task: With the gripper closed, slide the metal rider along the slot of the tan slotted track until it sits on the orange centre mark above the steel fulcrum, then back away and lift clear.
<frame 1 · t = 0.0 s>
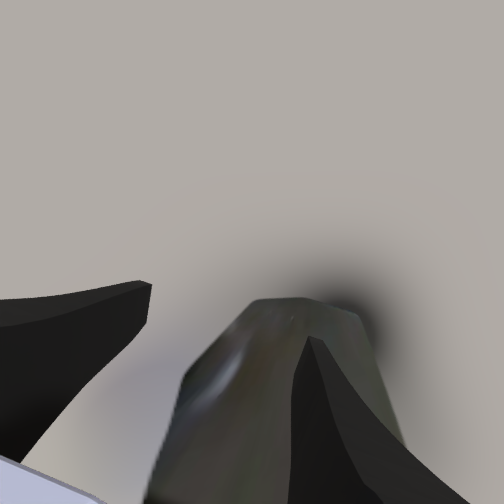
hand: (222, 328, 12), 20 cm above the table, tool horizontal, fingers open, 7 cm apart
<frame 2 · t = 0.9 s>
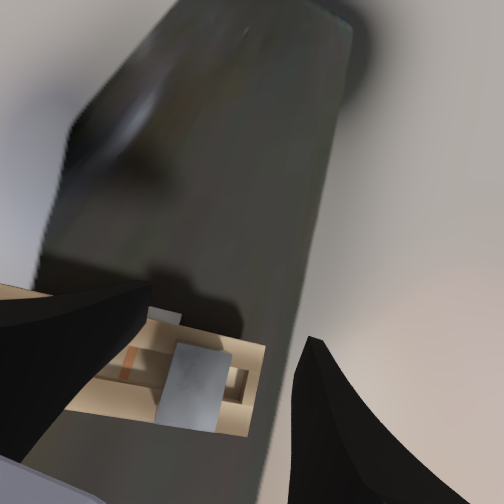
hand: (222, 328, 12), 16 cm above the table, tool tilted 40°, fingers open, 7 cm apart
tan slotted track: (134, 356, 24), on the table
rider: (193, 380, 20), point 6 cm above the table, slide at -5.0 cm
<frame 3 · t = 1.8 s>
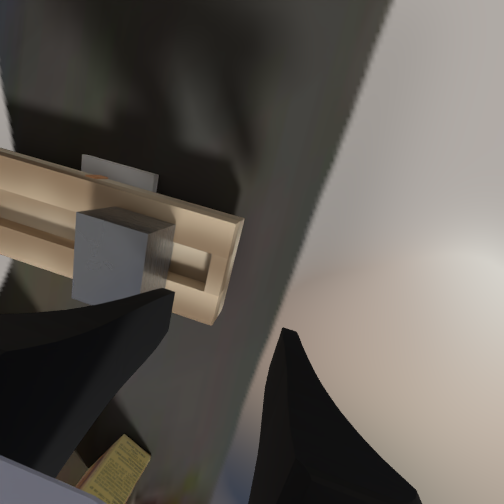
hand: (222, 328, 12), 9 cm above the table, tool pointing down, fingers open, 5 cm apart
tan slotted track: (117, 220, 22), on the table
candy box: (119, 460, 30), on the table
rider: (131, 257, 16), point 6 cm above the table, slide at -5.0 cm
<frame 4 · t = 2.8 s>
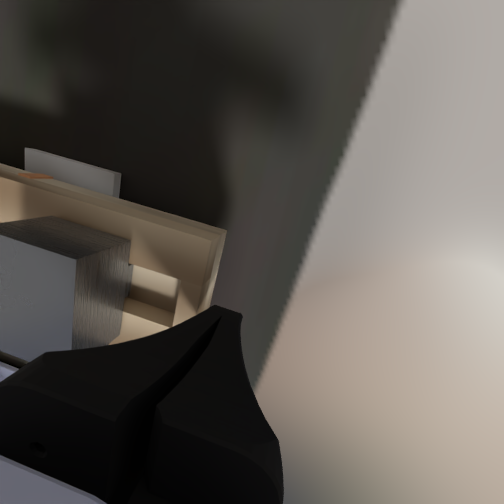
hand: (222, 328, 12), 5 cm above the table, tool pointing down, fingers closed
tan slotted track: (73, 230, 18), on the table
rider: (70, 285, 12), point 6 cm above the table, slide at -5.0 cm
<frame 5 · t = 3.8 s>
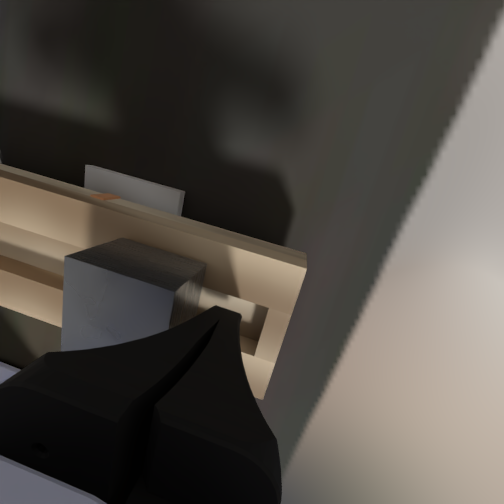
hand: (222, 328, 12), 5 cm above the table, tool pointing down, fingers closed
tan slotted track: (130, 248, 17), on the table
rider: (144, 310, 11), point 6 cm above the table, slide at -4.4 cm, touching gripper
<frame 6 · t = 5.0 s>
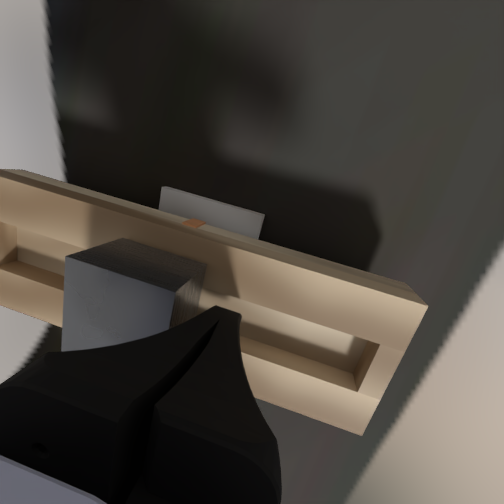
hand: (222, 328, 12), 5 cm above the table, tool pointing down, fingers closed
tan slotted track: (200, 270, 17), on the table
rider: (144, 310, 11), point 6 cm above the table, slide at 0.4 cm, touching gripper
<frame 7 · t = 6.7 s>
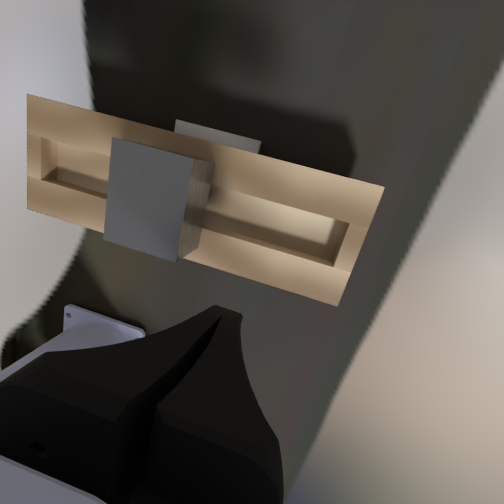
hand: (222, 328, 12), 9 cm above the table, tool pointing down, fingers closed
tan slotted track: (207, 195, 20), on the table
rider: (166, 199, 15), point 6 cm above the table, slide at 0.4 cm
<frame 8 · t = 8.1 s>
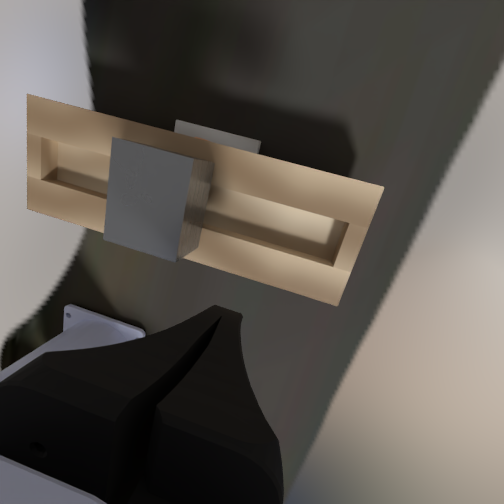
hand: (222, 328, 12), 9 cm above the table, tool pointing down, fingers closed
tan slotted track: (207, 195, 20), on the table
rider: (166, 199, 15), point 6 cm above the table, slide at 0.4 cm
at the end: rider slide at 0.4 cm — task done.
